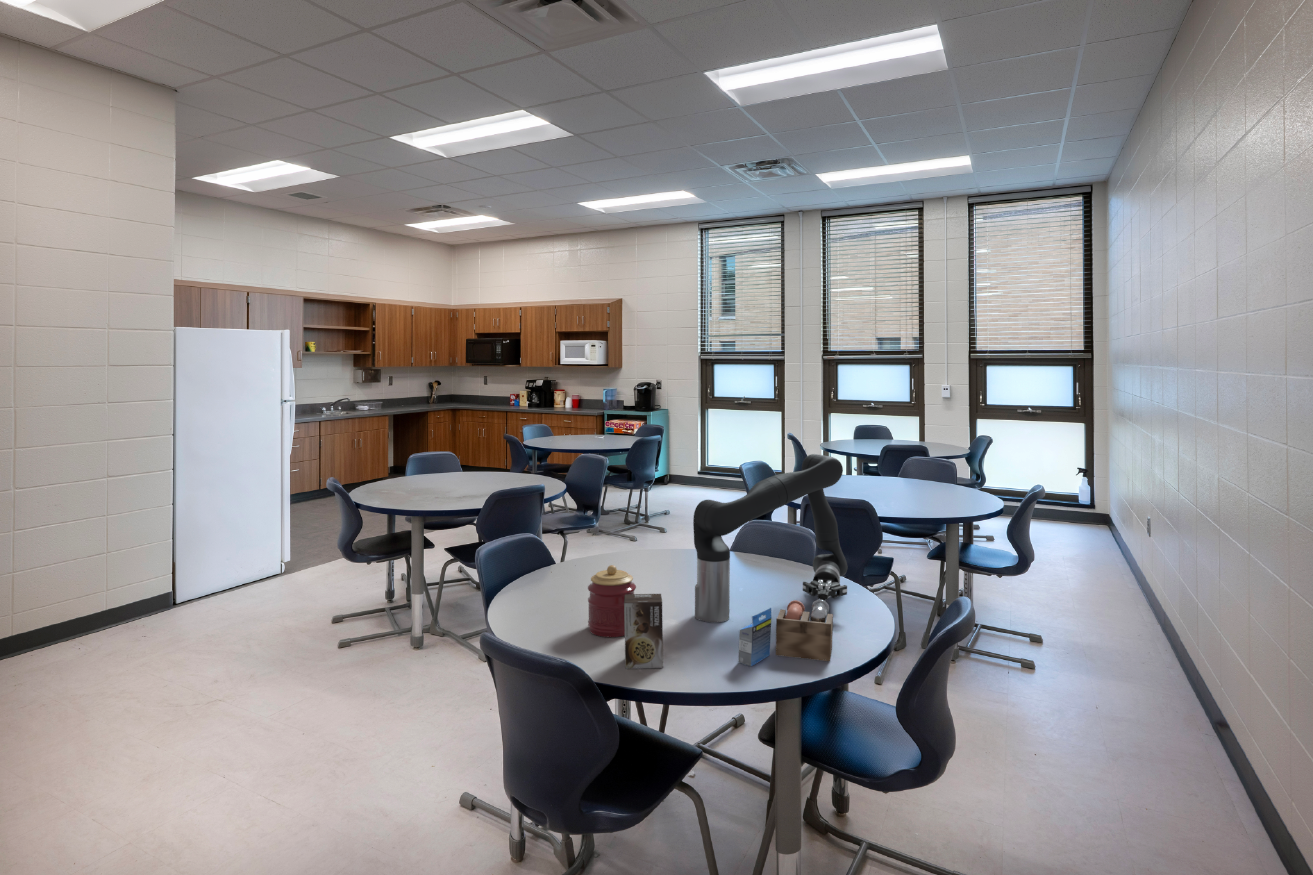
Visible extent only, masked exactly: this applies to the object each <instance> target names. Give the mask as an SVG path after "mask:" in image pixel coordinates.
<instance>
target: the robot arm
mask: <svg viewBox="0 0 1313 875" xmlns="http://www.w3.org/2000/svg"><path fill="white" fill-rule="evenodd" d="M843 471H844V467H843V465H842V463H841V461H840V460H838V459H837V458H835V457H834V456H831V455H830V456H829V455H823V454H815V453H812V454H809V455H807V456H806V457H805V458H804V459H803V461H802V465H801V470H800V471H793V472H792V471H791V472H785V473H780V474H779V473H778V474H776V475H772V476H770V477H766V478H764V479H762V480H760V481H758V482H756V483H755V484H754V485H753V486H752V487H751V488H750V489H749V491H748V492H747V494H746V495H744V496H742V497H740V498H737V499H735V500H732V501H728V502H722V501H717V500H714V499H704V500H702V501H700V502H699V503H698V504H697V506H696V507H695V509H694V513H693V518H692V519H693V523H692V524H693V527H692V528H693V543H694V544H693V545H694V548H695V551H696V584H695V585H694V619H695V620H699V621H701V622H706V623H712V624H713V623H723V622H725V621H728V620H729V619H730V610H731V609H730V594H731V593H730V592H731V590H730V587H731V585H730V584H731V581H730V580H731V578H730V576H731V549H730V548H729V546H728V545H727V544H726V542H725V541H724V540H723V536H726V535H729V534H730V533H732V532H734V531H736V530H737V529H739V528H741V527H743V526H744V525H745V524H747V523H748V522H750V521H752V520H754V519H757V518H759V517H762V516H763V515H766V514H768V513H770V512H773V511H775V510H778V509H779V508H782V507H783V506H786V505H787V504H789V503H792V502H794V501H796V500H799V499H800V498H802V497H804V496H807V497H808V501H809V506H810V509H811V513H812V517H813V522H814V523H813V525H814V533H815V542H816V547H817V548H818V549H820V550H824V551H828V552H831V553H830V554H829V553H827V554H824V553H823V554H818V555H816V556H815V557H814V558H813V560H812V569H813V572H814V575H813V579H812V581H810V582H808V581H802V591H803V592H804V593H806V594H809V595H811V596H813V597H816V596H817V600H819V599H821V600H824V601H827V600H829V598H831V599H832V598H833V599H835V598H840V597H843V596H847V595H848V585H846V584H842V585H841V584H840V583H841V577H843V576H845V575H846V574H847V572H848V562H847V560H846V557H845V555H844V553H843V550H842V547H841V544H840V538H839V537H840V536H839V530H838V529H839V527H838V522H837V518H836V516H835V514H834V511H833V510H832V508H831V506H830V504H829V502H828V499H827V498H826V495H825V491H824V489H827V488H829V487H832V486H834V485H836V484H837V483H838V482H839V481H840V480H841V478H842V477H843Z"/></svg>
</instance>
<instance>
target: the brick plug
mask: <svg viewBox="0 0 1313 875" xmlns="http://www.w3.org/2000/svg"><path fill="white" fill-rule="evenodd" d="M805 608H806V607H805V605H804V603H803V602H801V601H800V600H795V599H794V600H791V601H790V602H789V603H788V604H787V607H786V617H785V619H792V620H801V618H802V614H803V612H806V611H805V610H806V609H805Z"/></svg>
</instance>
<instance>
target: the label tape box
mask: <svg viewBox="0 0 1313 875" xmlns="http://www.w3.org/2000/svg"><path fill="white" fill-rule="evenodd" d="M750 617H751V622H752V623H750V624H748V625H745V626H744V627H743V628H740V629H739V631H738V632H739V635H738V636H739V637H738V638H739V639H738V657H737V658H738V663H739V664H742V665H744V666H748V667H753V666H754V665H756V664H757V663H759V662H761V661H762V660H764V659H766V658H768V657H769V656H770V655H771V638H772V607H769V608H766V609H764V610H763V611H761V612H759V613H756V614H754V615H751V616H750ZM762 617H764V618H762ZM760 618H762V619H760Z"/></svg>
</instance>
